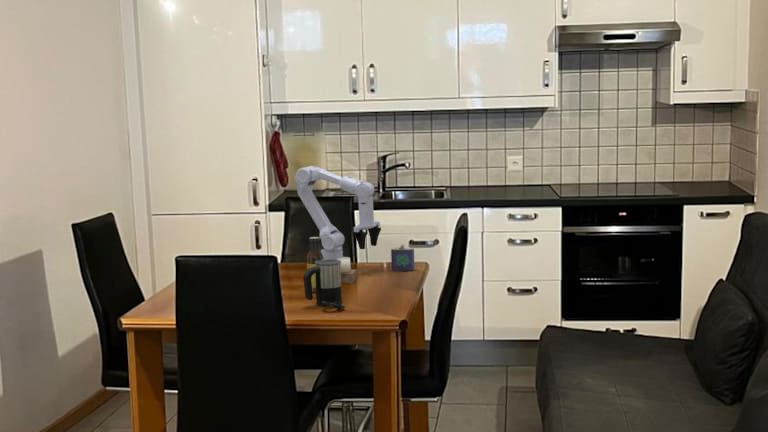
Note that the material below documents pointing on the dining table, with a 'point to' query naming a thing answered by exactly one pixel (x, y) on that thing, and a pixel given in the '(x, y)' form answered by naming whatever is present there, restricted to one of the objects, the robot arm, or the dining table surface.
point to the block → (349, 276)
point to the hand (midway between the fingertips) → (368, 247)
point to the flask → (402, 259)
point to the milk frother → (325, 283)
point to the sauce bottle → (314, 257)
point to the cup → (345, 264)
